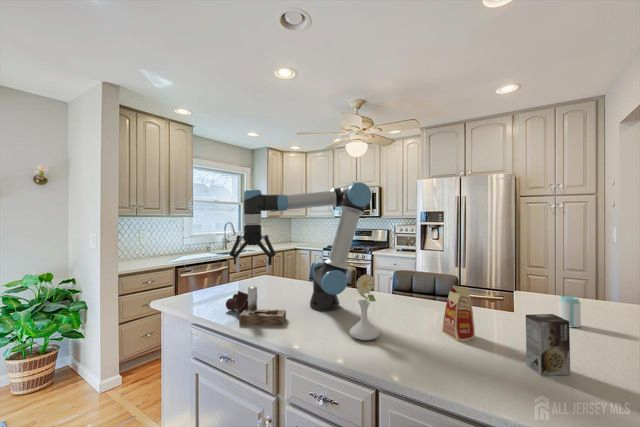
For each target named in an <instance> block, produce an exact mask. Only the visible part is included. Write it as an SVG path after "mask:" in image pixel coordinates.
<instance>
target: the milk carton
mask: <svg viewBox="0 0 640 427" xmlns="http://www.w3.org/2000/svg"><path fill="white" fill-rule="evenodd" d="M442 320H443V322H442V330H441V332H442V334H445V335H446V336H447V337H450V338H451V339H453V340H454V341H455V342H458V341H459V342H465V341H464V340H466V341H470V340H469V339H472V340H475V339H476V334H475V333H476V332H475V330H476V329H475V328H476V327H475V320H474V310H473V305H472V300H471V296H470V294H469V293H468V287H467V286H466V287H464V286H459V285H458V286H457V285H454V284H452V288H451V289H450V290H449V292H448V297H447V300H446V304H445V309H444V315H443V319H442Z"/></svg>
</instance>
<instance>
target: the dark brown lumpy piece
mask: <svg viewBox="0 0 640 427" xmlns="http://www.w3.org/2000/svg"><path fill="white" fill-rule="evenodd" d="M225 307H226V309H227V310H228V311H234V310H236V311H238V313H239V314H241V313H242V312H243V311H244V310H245V309H248V293H246V292H243V291H239V290H238V291H237V293H234V294H233V295H232V297H231V298H228V299H227V300H226V302H225Z"/></svg>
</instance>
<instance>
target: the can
mask: <svg viewBox="0 0 640 427" xmlns="http://www.w3.org/2000/svg"><path fill="white" fill-rule="evenodd" d="M581 305H582V304H581V301H580V300H579V298H578V297H576V296H570V295H560V298H559V299H558V316H559V317H561V318H563V319H565V320H567V321H569V326H571V327H578V328H580V327H581V325H582V324H581V322H582V321H581V320H582V318H581V314H582V313H581V312H582V311H581V307H582V306H581ZM571 327H570V328H571Z"/></svg>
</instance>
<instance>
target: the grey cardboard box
mask: <svg viewBox="0 0 640 427" xmlns="http://www.w3.org/2000/svg"><path fill="white" fill-rule="evenodd" d="M570 339H571V338H570V327H569V321H567V320H565V319H563V318H561V317H559V315H556V314H554V313H543V314H541V313H540V314H534V313H533V314H525V361H526V362H525V363H526V364H525V365H526V367H527V368H529V367H530V368H529V369H531V370H532V371H533V372H535V373H536V372H537V373H536V374H538V375H539V376H541V377H547V376H569V375H571V351H570V350H571V347H570V346H571V345H570V344H571V343H570V342H571V341H570Z"/></svg>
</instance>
